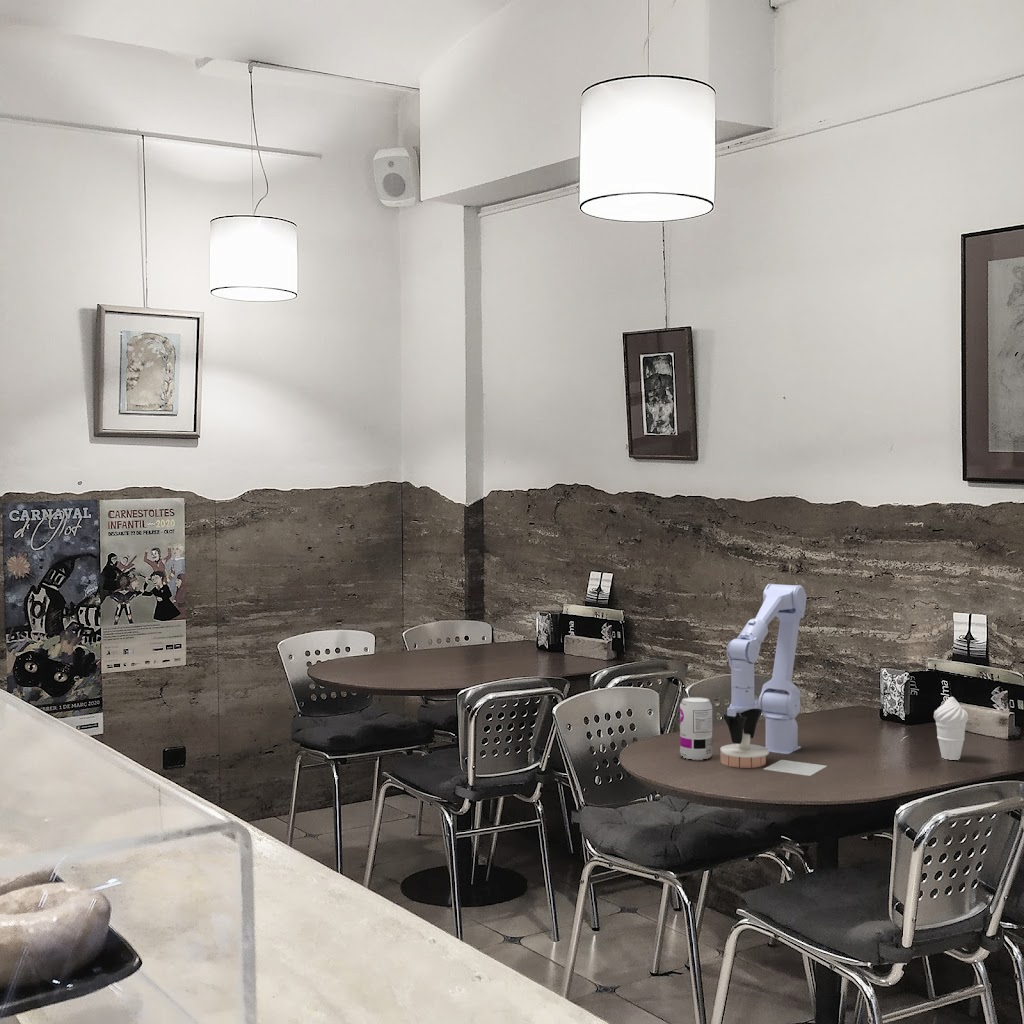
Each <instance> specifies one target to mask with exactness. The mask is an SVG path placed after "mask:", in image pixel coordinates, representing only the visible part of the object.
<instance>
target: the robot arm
mask: <svg viewBox="0 0 1024 1024" xmlns="http://www.w3.org/2000/svg"><path fill="white" fill-rule="evenodd" d="M807 599H808V598H807V593H806V590H805V588H804V587H803V586H802V585H801V584H797V585H792V584H778V583H777V584H775V583H767V585H766V586H765V588H764V589H763V593H762V600H763V601H762V605H761V606H760V608H759V610H758V612H757V614H756V616H755V618H751V619H749V620H748V621H747V622H746V624H745V626H744V627H743V629H742V630H741V632H740V633H739V635H738V636H737V637H736V638H733V639H732V640H730V641H729V642H728V644H727V648H726V651H725V653H726V657H727V659H728V666H729V668H730V669H731V670H730V671H731V672H730V673H731V674H730V675H731V678H730V681H731V682H730V683H731V684H730V685H731V689H730V690H731V691H730V693H731V694H730V695H731V698H730V699H731V700H730V701H731V702H730V704H729V707H727V710H726V711H727V712H726V713H724V714H723V719H724V720H725V722H726V725H727V727H728V730H729V734H730V739H731V742H732V744H740V743H741V741H742V735H743V734H750V739H753V738H754V736H755V733H756V728H757V724H758V720H759V719H760V716H762V717H765V747H766V748H768V749H769V753H770V752H771V753H775V754H785V755H790V754H791V753H794V752H795V751H797V750H799V749H800V750H801V749H802V746H799V745H798V743H799V741H798V740H799V739H798V737H799V736H798V733H799V731H798V730H799V729H798V722H797V720H796V717H797V716H798V715H799V713H800V710H801V690H800V688H798V686H797V685H795V683H793V681H792V679H793V672H794V666H795V658H796V651H797V643H798V636H799V630H800V629H799V628H800V623H801V622H800V620H801V619H802V618H804V617H805V612H806V605H807ZM775 617H776V618H778V620H779V625H778V634H777V639H776V640H777V641H776V648H775V655H774V662H773V668H772V669H773V670H772V676H771V677H772V678H771V679H770V680H768V681H766V682H765V683H764V684H763V685H762V688H761V691H760V694H759V696H758V699H755V662H756V661H757V660H758V659H759V655H760V650H761V645H762V643H763V641H764V640H765V638H766V637H767V634H768V633H769V628H768V625H769V624H770V622H771V621H772V620H773V619H774V618H775Z"/></svg>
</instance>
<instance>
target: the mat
mask: <svg viewBox="0 0 1024 1024" xmlns="http://www.w3.org/2000/svg"><path fill="white" fill-rule="evenodd" d="M827 767H828V765H823V764H817V763H810V762H802V761H793V760H787V759H786V760H785V759H780V760H778V761H776V762H774V763H772V764H770V765H768V766H766V767H764V768H763V770H765V771H772V772H778V773H786V774H793V775H799V776H808V777H811V776H813V775H814V774H816V773H818V772H820V771H821V770H823V769H825V768H827Z"/></svg>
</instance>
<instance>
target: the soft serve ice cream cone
mask: <svg viewBox="0 0 1024 1024" xmlns="http://www.w3.org/2000/svg"><path fill="white" fill-rule="evenodd" d="M933 719H934V721H935V725H936V734H937V736H936V739H937V741H938V745H939V750H940V754H941V759H942V758H944V759H949V760H958V761H960V760H961V755H962V751H963V746H964V742H965V733H966V727H967V722H968V720H969V714H968V711H966V710H965V709H964V708H963V707H962V706H961V704H960V703H959V702H958V700H957V699H956V698H955V697H954V696H950V697H948V698H947V699H946V700H945V701H944V703H943V704H941V705H940V706H939V707H937V709H935V710H934V712H933ZM944 759H943V760H944ZM959 759H960V760H959Z"/></svg>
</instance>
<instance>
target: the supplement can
mask: <svg viewBox="0 0 1024 1024" xmlns="http://www.w3.org/2000/svg"><path fill="white" fill-rule="evenodd" d="M679 755H680V756H681V757H682V756H683V757H682V758H683V759H685V758H686V759H685V760H688V759H692V760H691V761H704V760H703V759H707V760H709V759H710V758H711V757H712V756H713V705H712V702H711V701H710V699H709V698H706V697H699V696H698V697H695V696H694V697H693V696H692V697H691V696H689V697H684V698H682V700H681V702H680V704H679ZM708 758H709V759H708Z"/></svg>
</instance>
